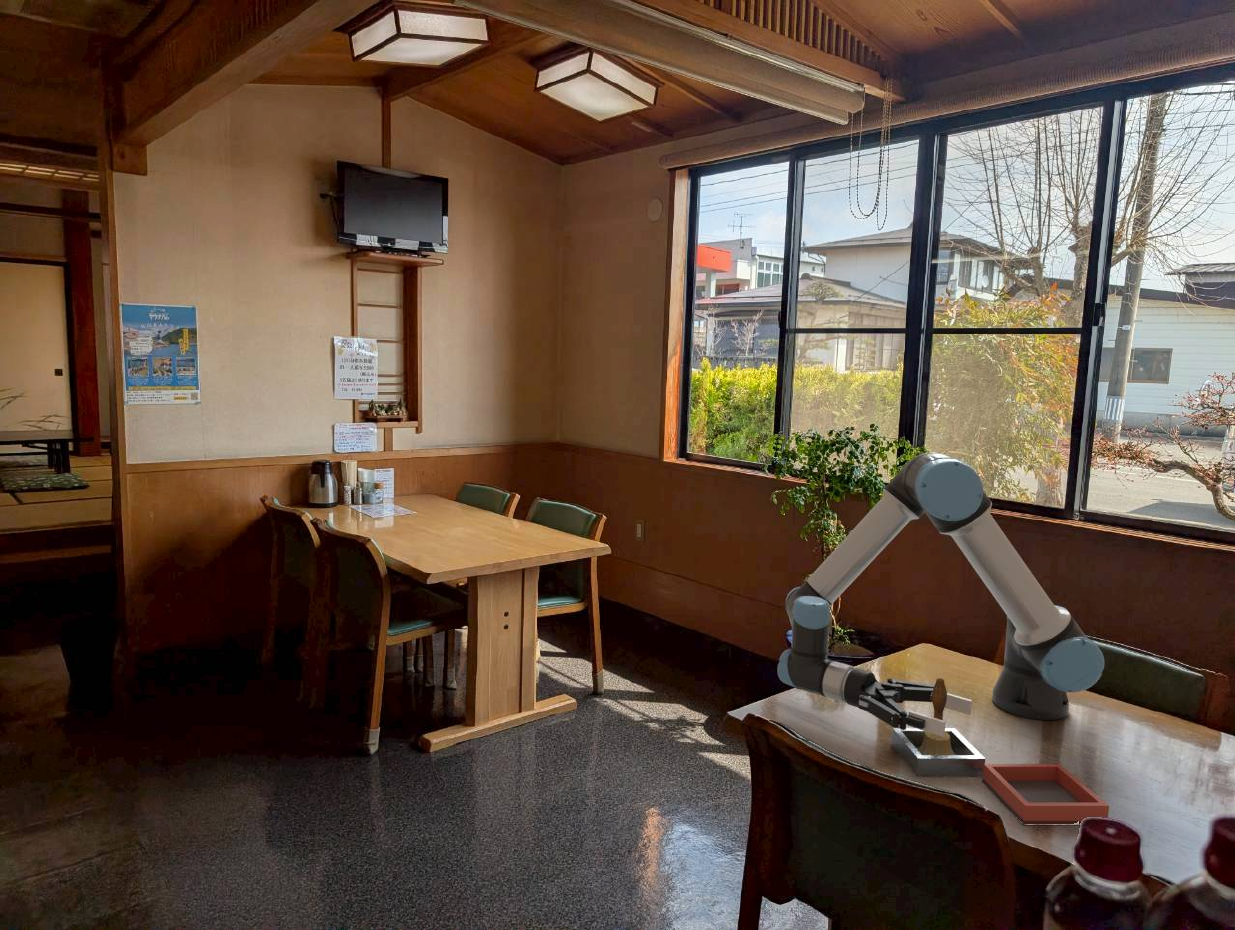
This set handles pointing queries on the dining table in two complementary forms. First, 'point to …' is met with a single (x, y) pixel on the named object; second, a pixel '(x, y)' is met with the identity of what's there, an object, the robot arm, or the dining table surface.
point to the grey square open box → (957, 765)
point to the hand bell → (939, 696)
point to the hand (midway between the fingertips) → (958, 718)
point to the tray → (1043, 793)
